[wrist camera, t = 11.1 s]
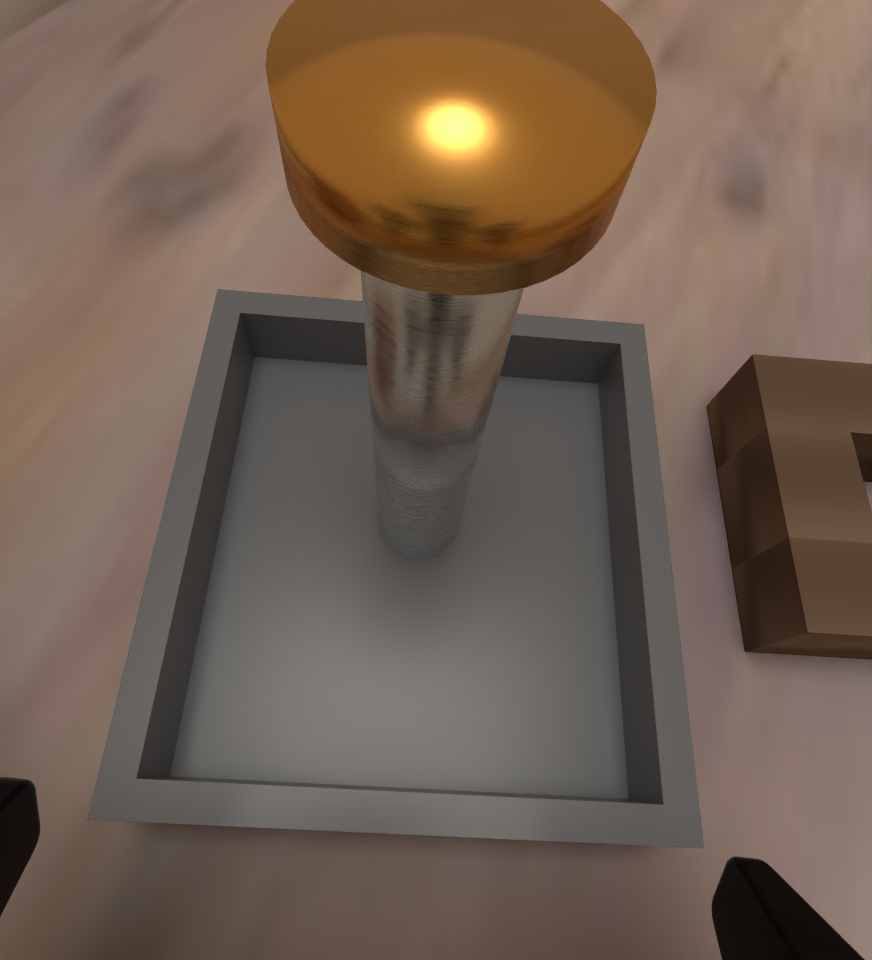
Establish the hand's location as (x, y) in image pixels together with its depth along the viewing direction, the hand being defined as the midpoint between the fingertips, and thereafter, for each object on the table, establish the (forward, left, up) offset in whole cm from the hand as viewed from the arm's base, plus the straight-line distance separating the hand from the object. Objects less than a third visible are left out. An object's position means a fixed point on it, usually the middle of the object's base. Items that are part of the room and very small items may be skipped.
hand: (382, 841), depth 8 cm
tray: (+7, 0, -9) cm, 11 cm away
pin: (+7, 0, -8) cm, 11 cm away
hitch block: (+9, -14, -9) cm, 19 cm away
